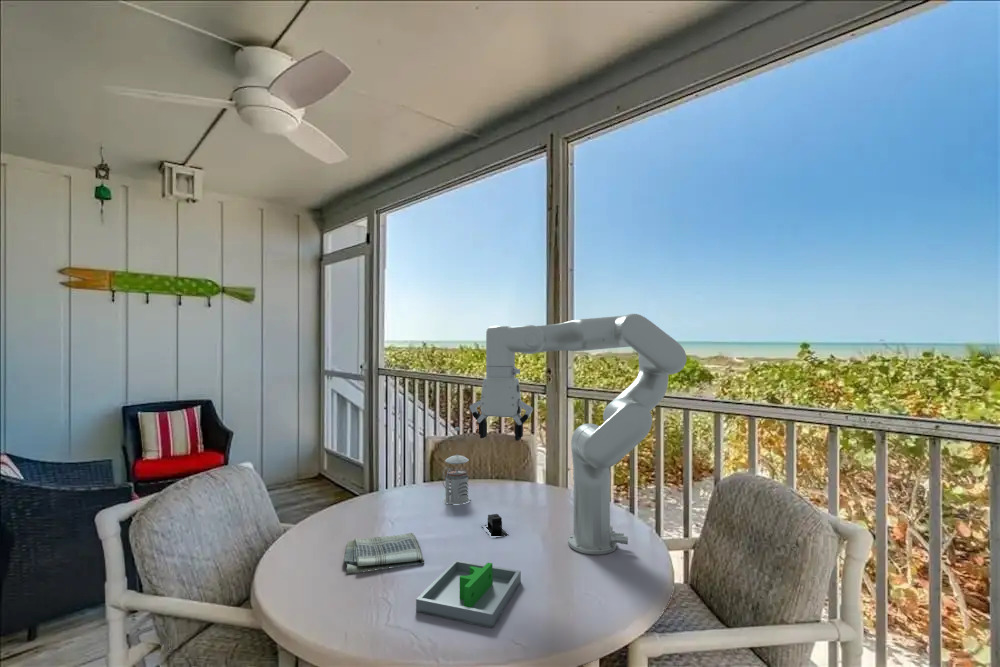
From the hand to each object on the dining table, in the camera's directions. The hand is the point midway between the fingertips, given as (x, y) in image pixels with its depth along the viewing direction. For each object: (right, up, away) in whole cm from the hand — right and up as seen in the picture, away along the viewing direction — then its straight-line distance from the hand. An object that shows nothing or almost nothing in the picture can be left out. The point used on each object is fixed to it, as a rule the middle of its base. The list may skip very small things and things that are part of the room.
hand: (500, 438), depth 121 cm
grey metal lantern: (-15, -30, +36) cm, 49 cm away
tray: (-6, -28, -24) cm, 37 cm away
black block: (-2, -30, +11) cm, 32 cm away
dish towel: (-30, -29, -4) cm, 42 cm away
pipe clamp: (-6, -27, -25) cm, 37 cm away
